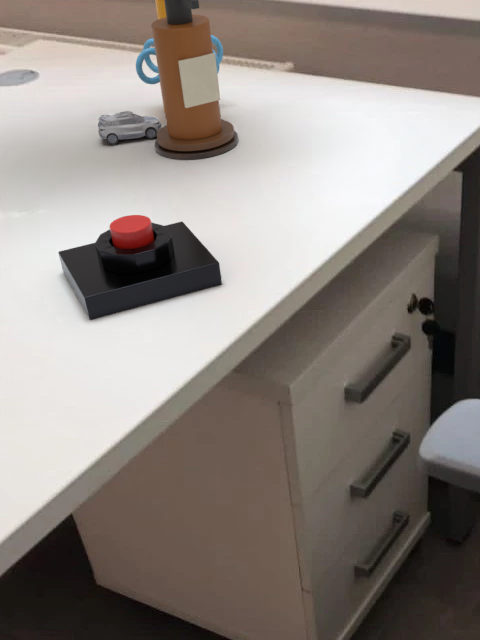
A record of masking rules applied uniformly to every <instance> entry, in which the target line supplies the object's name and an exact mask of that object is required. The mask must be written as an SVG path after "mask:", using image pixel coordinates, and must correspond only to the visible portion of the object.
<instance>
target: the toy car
mask: <svg viewBox="0 0 480 640" xmlns="http://www.w3.org/2000/svg"><path fill="white" fill-rule="evenodd" d="M97 126H98V135H99V137H100V139H101V142H102V143H103V142H104V140H106V142H107V144H108V145H110V146H115V145H117V144H118V142H119V141H121V140H122V141H123V140H130V139H132V140H133V139H139V138H144V137H146V138H147V139H149V140H153V139H155V138H157V132H158V131H159V130H160V129H161V128H163V127H164V126H162V122H161V120H160V119H159V118H157V117H156V116H153V115H139V114H136V113H134V112H133V111H130V110H125V111H120V112H117V113H114V114H100V116H99V117H98V123H97Z"/></svg>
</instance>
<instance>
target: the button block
mask: <svg viewBox="0 0 480 640" xmlns="http://www.w3.org/2000/svg"><path fill="white" fill-rule="evenodd" d="M151 224H152V229H153V235H154V241H153V242H152V243H150V244H148V245H147V246H143V247H139V248H135V249H119V248H116V247H114V245H113V241H112V236H111V232H110V228H109V229H108V230H105V231H104V232H102V233H100V234H99V236H98V238H97V239H96V240H95V242H93V243H88V244H84V245H80V246H76V247H71V248H68V249H64V250H60V251H58V257H59V261H60V265H61V269H62V273H63V274H64V276H65V278H66V280H67V282H68V283H69V286H70V288H71V289H72V291H73V292H74V295H75V296H76V298H77V299H78V301H79V303H80V305H81V307H82V309H83V311H84V313H85V314H86V316H87V317H88V320H89V321H92V320H97V319H99V318H104V317H107V316H111V315H115V314H119V313H122V312H126V311H129V310H133V309H137V308H142V307H144V306H145V307H146V306H148V305H152V304H155V303H159V302H163V301H167V300H170V299H171V300H172V299H174V298H178V297H181V296H185V295H189V294H192V293H197V292H200V291H204V290H207V289H212V288H214V287H219V286H222V285H223V281H222V273H221V266H220V265H221V264H220V262H219V260H218V259H216V257H215V256H214V255H213V254H212V253H211V252H210V251H209V250H208V248H207V247H206V246H205V245H204V244H203V243H202V241H200V239H199V238H198V237H197V236H196V235H195V234H194V232H193V231H191V229H190V228H189V227H188V225H186V224H185V222H184V221H178V222H175V223H170V224H165V225H163V224H159V223H156V222H152V221H151Z"/></svg>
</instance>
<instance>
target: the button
mask: <svg viewBox="0 0 480 640" xmlns="http://www.w3.org/2000/svg"><path fill="white" fill-rule="evenodd" d="M151 222H152V220H151V218H150V217H149V216H147V215H140V214H129V215H125V216H120V217H118V218H116V219H114V220H113V221H112V222H111V223H110V224H109V229H110V232H111V236H112V241H113V245H114V247H116V248H119V249H135V248H139V247H143V246H147V245H148V244H150V243H152V242H153V241H154V235H153V229H152V224H151Z"/></svg>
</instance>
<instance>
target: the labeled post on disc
mask: <svg viewBox="0 0 480 640" xmlns="http://www.w3.org/2000/svg"><path fill="white" fill-rule="evenodd" d="M199 1H200V0H164V2H165V9H166V16H167V17H165V18H161V19H158V18H157V19H155V20H154V21H153V22H152V23H151V25H150V26H151V33H152V38H153V39H154V45H153V46H154V48H155V52H156V55H155V59H156V66H157V67H158V71H159V73H158V74H159V78H160V82H159V85H160V84H161V87H160V91H161V90H162V94H161V98H162V97H163V100H162V104H163V103H164V106H163V110H164V109H165V112H164V115H165V122H166V125H163V126H162V127H163V128H161V129H160V130H159V131H158V132H157V135H156V139H157V141H158V144H159V145H160V146H161V147H163V148H165V149H169V150H174V151H200V150H206V149H211V148H214V147H218V146H220V145H223V144H225V143H227V142H229V141H230V140H231V139H232V138H233V137H234V131H235V129H234V125H233V124H232V123H231V122H230V121H228V120H225V119H221V118H222V117H221V109H220V102H219V101H220V100H221V93H220V84H219V74H218V75H217V66H216V57H215V53H216V52H215V53H213V50H214V49H213V43H212V41H211V35H212V33H211V25H210V18H209V17H207V16H205V15H203V14H193V11H192V10H197V9H200V3H199Z"/></svg>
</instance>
